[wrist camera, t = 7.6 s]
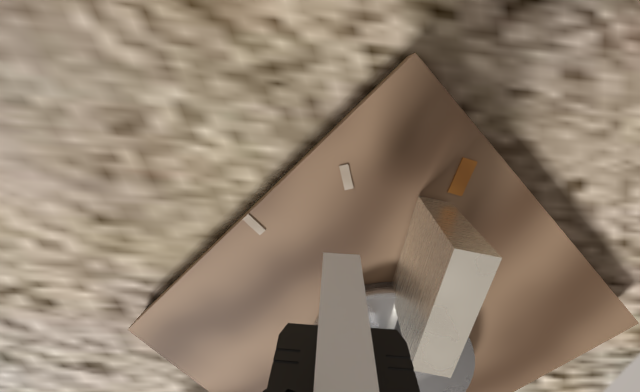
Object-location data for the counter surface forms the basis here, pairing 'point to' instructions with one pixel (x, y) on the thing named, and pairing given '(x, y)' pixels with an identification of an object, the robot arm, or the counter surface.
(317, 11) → the counter surface
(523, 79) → the counter surface
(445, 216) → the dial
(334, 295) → the robot arm
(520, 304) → the panel
